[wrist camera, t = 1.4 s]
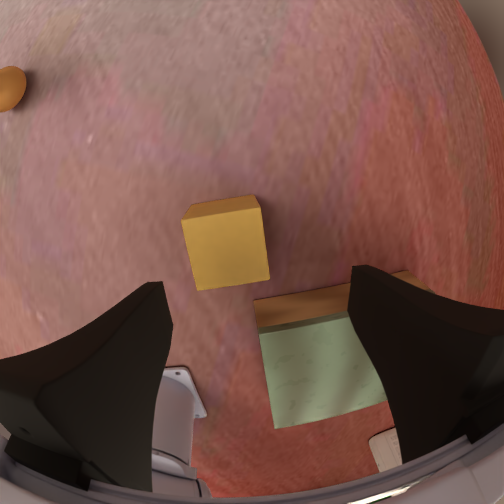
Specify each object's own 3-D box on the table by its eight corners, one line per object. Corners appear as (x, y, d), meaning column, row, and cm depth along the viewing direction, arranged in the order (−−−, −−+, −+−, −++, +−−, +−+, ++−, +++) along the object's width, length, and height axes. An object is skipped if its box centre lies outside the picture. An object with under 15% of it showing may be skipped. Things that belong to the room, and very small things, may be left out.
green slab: (269, 395, 26) (274, 429, 22) (253, 300, 22) (258, 334, 18) (391, 365, 27) (408, 392, 22) (407, 269, 22) (435, 292, 18)
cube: (203, 262, 21) (197, 291, 16) (191, 204, 19) (180, 220, 15) (262, 253, 21) (270, 279, 17) (254, 194, 19) (260, 206, 15)
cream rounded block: (365, 446, 34) (388, 505, 22) (369, 435, 32) (395, 498, 21) (419, 424, 34) (447, 476, 22) (425, 411, 32) (457, 466, 21)
